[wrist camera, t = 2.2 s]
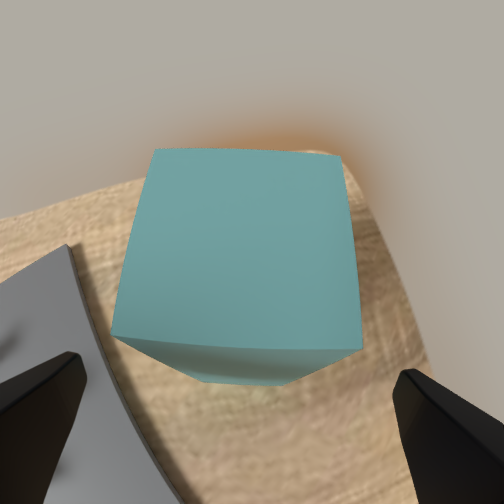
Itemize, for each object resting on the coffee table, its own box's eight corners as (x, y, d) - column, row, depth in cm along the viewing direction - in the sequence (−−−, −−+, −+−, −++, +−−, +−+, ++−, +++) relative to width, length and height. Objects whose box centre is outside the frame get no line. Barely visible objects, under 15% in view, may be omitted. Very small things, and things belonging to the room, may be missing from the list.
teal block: (281, 385, 17) (363, 348, 5) (202, 382, 17) (110, 334, 5) (283, 311, 19) (340, 156, 7) (208, 308, 19) (155, 149, 7)
